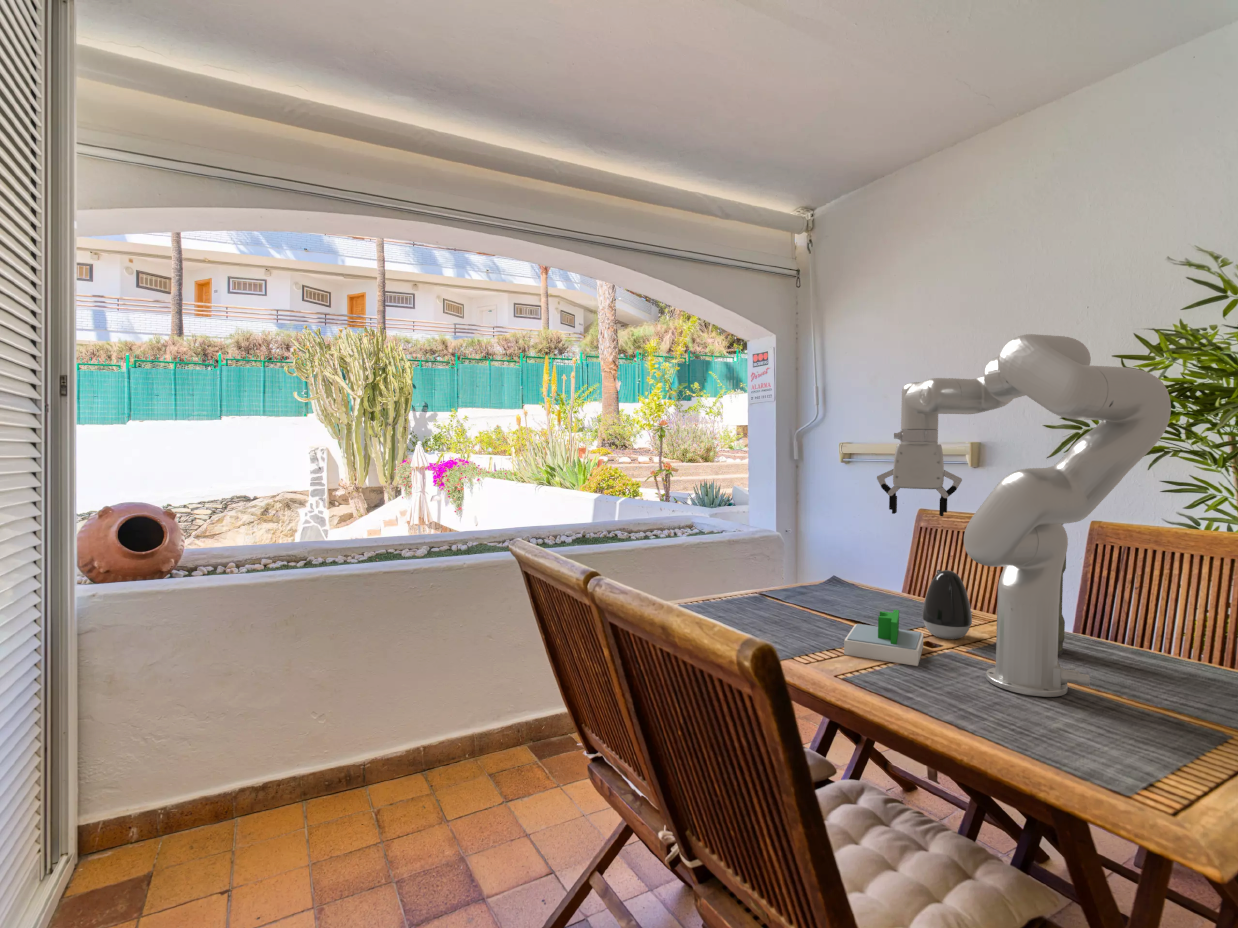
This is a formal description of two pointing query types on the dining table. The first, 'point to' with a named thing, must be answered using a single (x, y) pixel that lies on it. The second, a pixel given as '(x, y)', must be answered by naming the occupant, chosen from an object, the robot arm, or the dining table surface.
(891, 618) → the pipe clamp
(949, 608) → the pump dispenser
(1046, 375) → the robot arm
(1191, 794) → the dining table surface
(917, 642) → the stand
